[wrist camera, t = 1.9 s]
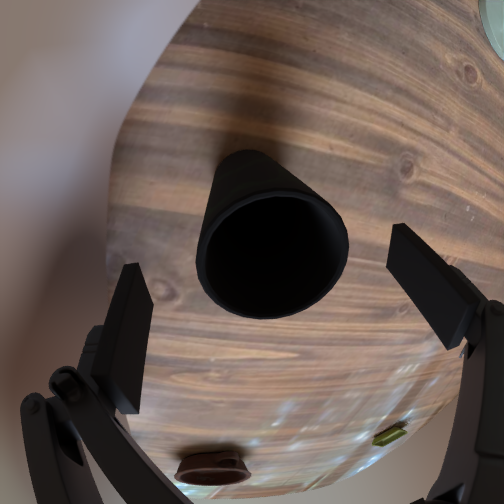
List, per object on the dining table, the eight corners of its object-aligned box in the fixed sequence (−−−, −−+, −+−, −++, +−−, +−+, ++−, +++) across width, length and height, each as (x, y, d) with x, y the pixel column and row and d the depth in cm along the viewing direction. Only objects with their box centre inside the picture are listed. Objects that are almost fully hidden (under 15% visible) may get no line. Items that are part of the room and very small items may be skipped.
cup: (273, 122, 22) (327, 161, 12) (304, 201, 26) (361, 286, 16) (184, 162, 23) (164, 234, 13) (225, 236, 27) (237, 337, 17)
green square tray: (406, 426, 66) (408, 432, 64) (380, 441, 68) (382, 447, 67) (396, 423, 62) (399, 429, 60) (368, 439, 64) (371, 445, 63)
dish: (165, 468, 60) (165, 485, 55) (186, 441, 50) (187, 463, 46) (229, 473, 65) (231, 489, 61) (266, 447, 55) (269, 467, 51)
